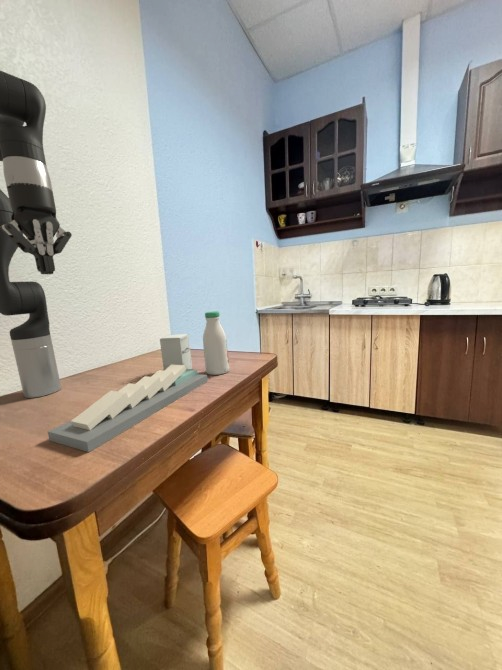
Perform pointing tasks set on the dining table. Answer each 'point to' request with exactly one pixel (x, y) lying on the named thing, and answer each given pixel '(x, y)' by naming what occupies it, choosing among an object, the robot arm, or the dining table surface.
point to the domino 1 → (99, 410)
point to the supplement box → (176, 350)
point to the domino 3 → (149, 386)
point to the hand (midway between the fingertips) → (47, 274)
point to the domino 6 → (185, 376)
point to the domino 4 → (164, 378)
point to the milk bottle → (215, 345)
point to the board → (122, 418)
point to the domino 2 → (132, 393)
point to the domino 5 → (177, 372)
